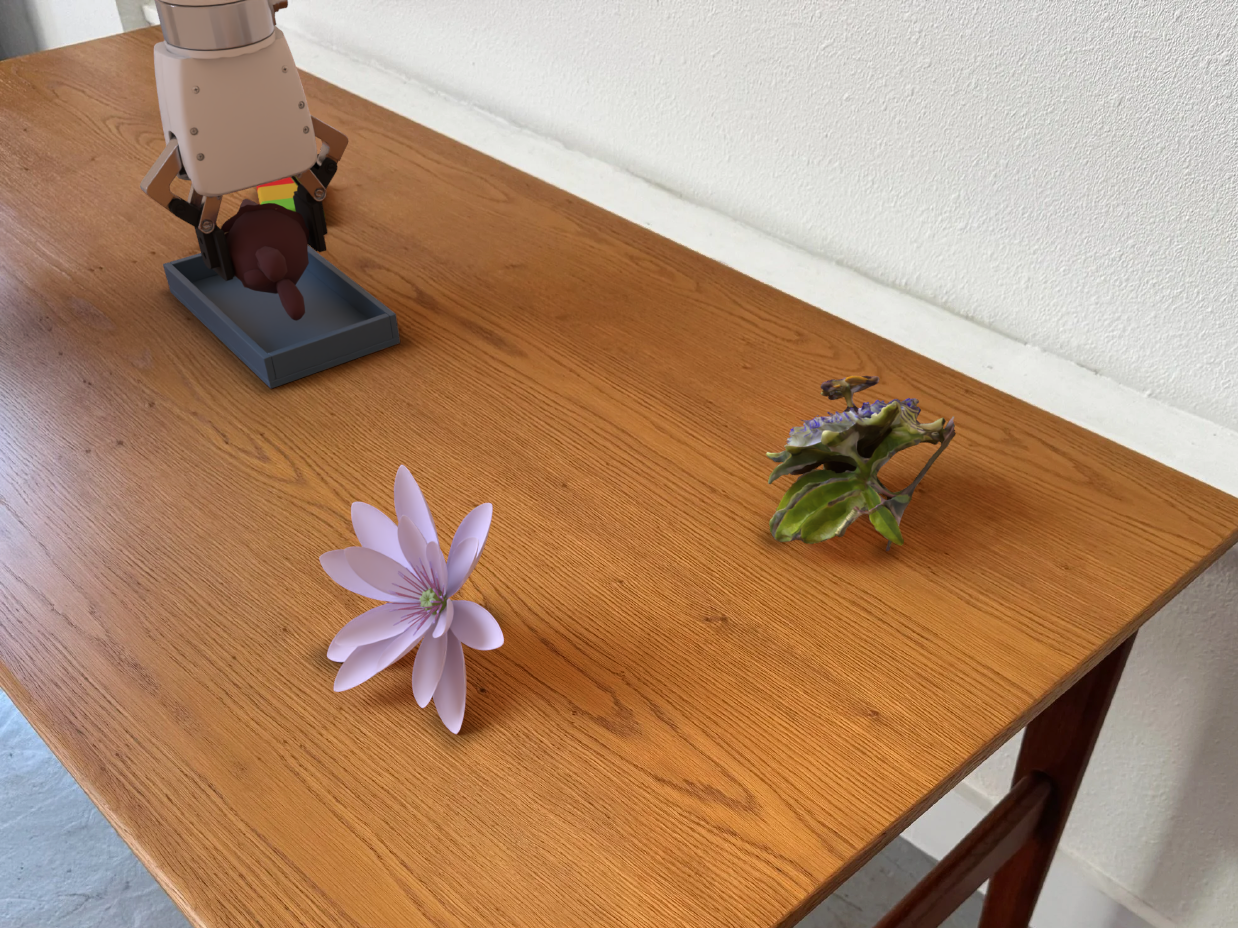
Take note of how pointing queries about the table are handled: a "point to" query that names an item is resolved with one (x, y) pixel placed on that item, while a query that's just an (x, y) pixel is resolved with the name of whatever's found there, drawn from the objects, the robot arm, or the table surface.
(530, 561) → the table surface
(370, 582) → the water lily
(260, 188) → the popsicle
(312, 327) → the tray
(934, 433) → the passion flower
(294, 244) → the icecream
